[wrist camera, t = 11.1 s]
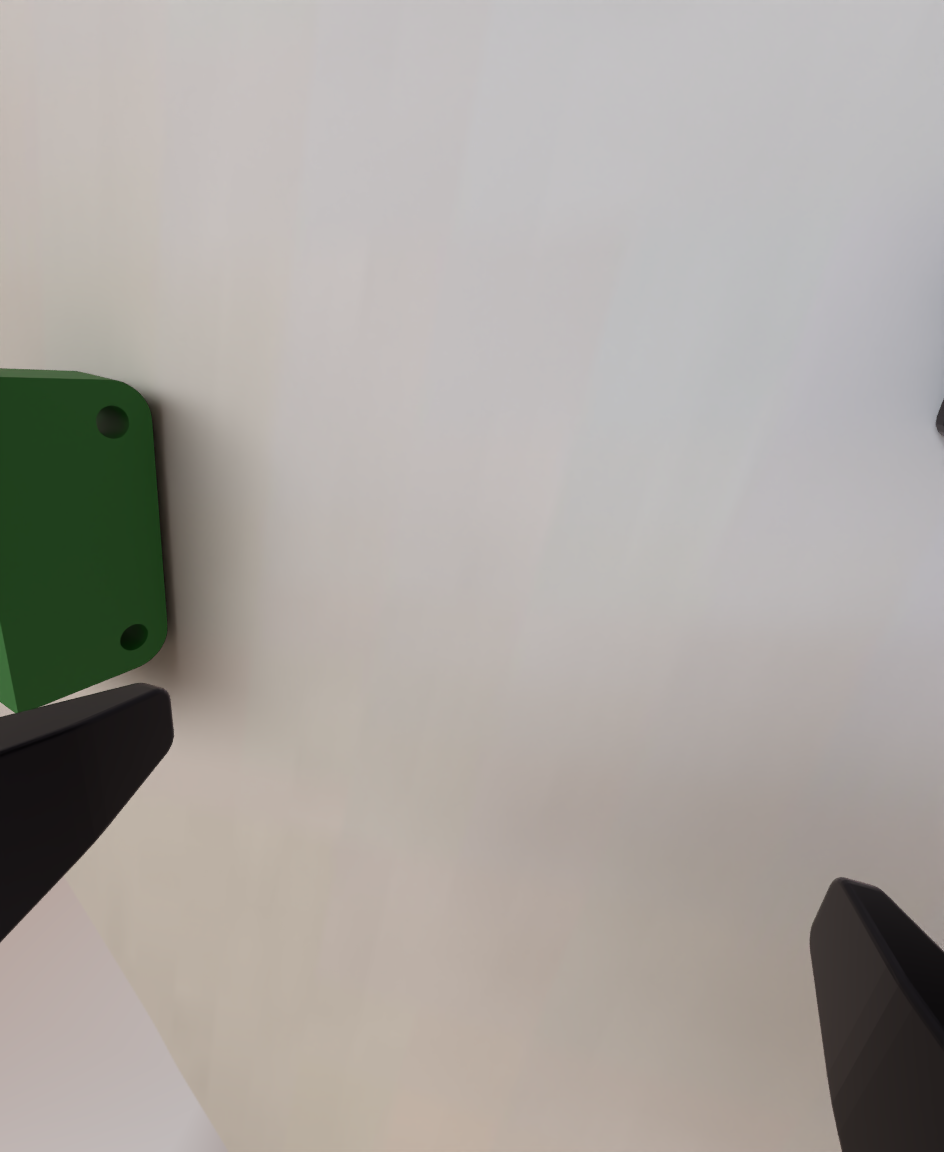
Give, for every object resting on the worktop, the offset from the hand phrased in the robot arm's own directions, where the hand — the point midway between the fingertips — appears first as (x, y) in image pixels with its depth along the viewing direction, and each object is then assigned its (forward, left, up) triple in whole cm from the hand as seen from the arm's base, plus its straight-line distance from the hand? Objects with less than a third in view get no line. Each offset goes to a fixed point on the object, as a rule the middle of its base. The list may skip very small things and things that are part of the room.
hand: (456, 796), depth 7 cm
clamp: (+19, +2, -12) cm, 23 cm away
